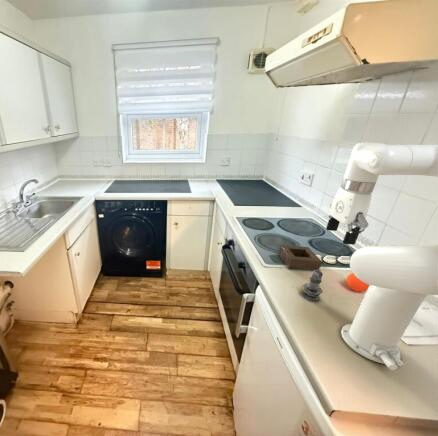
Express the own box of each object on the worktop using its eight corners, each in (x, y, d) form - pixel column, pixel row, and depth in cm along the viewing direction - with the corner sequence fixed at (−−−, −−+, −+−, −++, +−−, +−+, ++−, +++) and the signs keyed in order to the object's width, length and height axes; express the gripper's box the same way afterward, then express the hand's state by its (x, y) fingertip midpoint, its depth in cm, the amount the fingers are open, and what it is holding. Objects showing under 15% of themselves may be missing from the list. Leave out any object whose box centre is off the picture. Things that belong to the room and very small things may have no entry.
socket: (318, 271, 100) (322, 261, 98) (288, 269, 102) (291, 259, 100) (305, 256, 111) (308, 247, 109) (278, 254, 113) (280, 245, 111)
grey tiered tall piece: (312, 290, 89) (321, 263, 84) (323, 301, 84) (334, 273, 79) (297, 291, 89) (305, 264, 84) (307, 302, 83) (316, 274, 79)
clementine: (342, 280, 95) (347, 265, 92) (364, 285, 92) (371, 270, 89) (345, 291, 89) (351, 275, 86) (369, 298, 85) (376, 282, 83)
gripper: (328, 178, 79) (314, 225, 86) (362, 193, 64) (342, 249, 70) (353, 179, 78) (336, 226, 85) (394, 194, 62) (370, 251, 69)
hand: (339, 236), depth 78 cm, fingers open, 9 cm apart
